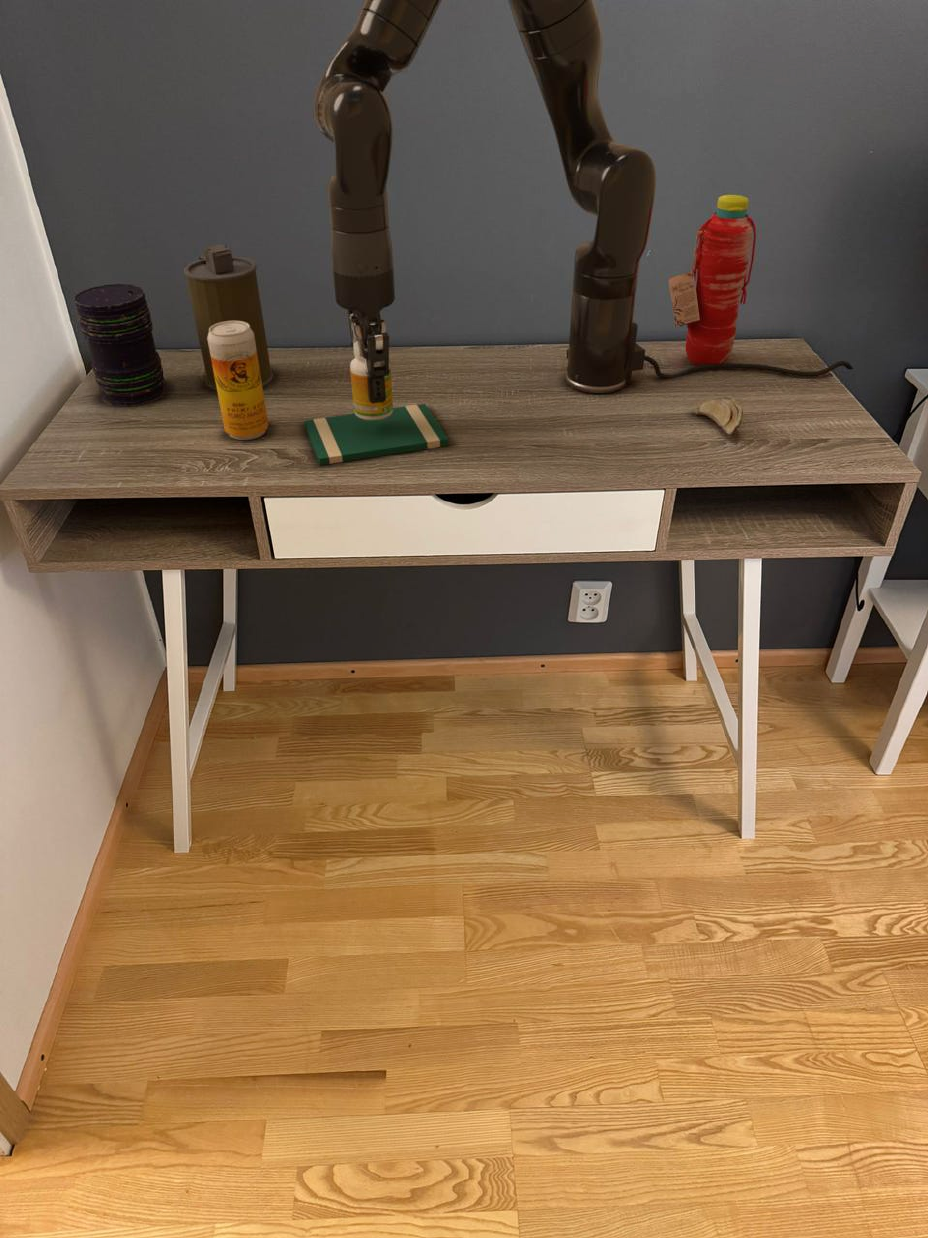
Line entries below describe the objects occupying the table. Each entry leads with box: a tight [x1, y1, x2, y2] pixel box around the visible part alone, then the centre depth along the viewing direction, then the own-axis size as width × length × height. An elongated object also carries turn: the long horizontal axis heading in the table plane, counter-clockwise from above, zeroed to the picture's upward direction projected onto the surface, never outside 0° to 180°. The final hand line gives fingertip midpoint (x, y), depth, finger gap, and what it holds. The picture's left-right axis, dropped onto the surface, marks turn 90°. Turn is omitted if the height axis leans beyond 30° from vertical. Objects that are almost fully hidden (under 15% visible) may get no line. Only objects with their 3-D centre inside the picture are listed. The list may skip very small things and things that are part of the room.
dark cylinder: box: [73, 283, 167, 407], centre depth 131 cm, size 10×10×15 cm
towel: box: [303, 403, 450, 466], centre depth 124 cm, size 18×12×1 cm, turn 108°
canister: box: [183, 243, 274, 392], centre depth 134 cm, size 11×10×20 cm
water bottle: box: [668, 194, 757, 366], centre depth 136 cm, size 12×8×25 cm, turn 91°
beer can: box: [207, 321, 269, 441], centre depth 121 cm, size 6×6×15 cm
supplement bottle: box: [349, 341, 394, 420], centre depth 119 cm, size 5×5×10 cm
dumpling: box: [694, 397, 744, 438], centre depth 125 cm, size 6×4×10 cm
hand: (372, 392), depth 120 cm, fingers closed on supplement bottle, 5 cm apart
